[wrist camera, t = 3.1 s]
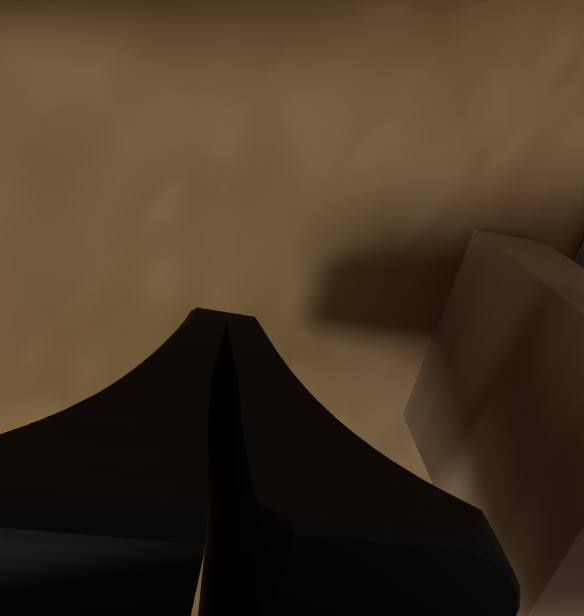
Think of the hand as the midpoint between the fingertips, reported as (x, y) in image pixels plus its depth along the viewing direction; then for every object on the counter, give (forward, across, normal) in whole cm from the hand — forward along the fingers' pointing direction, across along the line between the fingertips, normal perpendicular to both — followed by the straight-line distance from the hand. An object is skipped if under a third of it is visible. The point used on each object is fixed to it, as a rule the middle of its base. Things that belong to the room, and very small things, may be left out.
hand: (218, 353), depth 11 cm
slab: (+3, -7, 0) cm, 8 cm away
